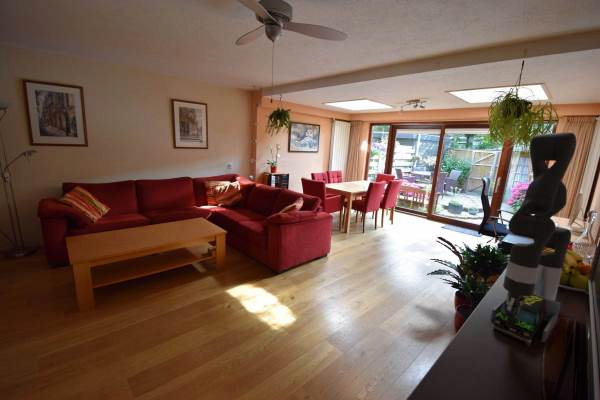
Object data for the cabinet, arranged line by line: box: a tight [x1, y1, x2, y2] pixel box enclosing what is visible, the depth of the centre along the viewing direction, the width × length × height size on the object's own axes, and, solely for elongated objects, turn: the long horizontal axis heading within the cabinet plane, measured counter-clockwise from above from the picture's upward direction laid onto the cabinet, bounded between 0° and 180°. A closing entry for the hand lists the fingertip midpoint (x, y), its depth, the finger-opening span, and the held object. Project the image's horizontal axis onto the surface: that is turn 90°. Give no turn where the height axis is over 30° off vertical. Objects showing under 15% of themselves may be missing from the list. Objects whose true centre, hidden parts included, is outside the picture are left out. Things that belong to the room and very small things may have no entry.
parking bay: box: [490, 290, 562, 343], centre depth 98 cm, size 19×15×8 cm
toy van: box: [491, 294, 546, 347], centre depth 95 cm, size 11×25×10 cm, turn 129°
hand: (509, 326), depth 86 cm, fingers closed
